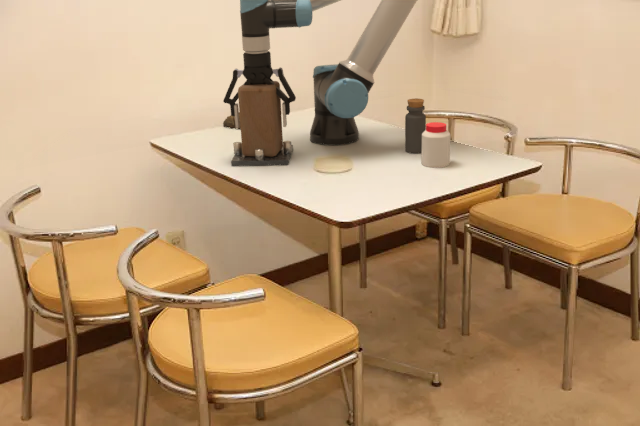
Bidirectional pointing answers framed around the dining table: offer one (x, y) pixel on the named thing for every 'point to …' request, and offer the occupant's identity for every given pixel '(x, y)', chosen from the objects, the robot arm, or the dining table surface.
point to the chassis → (262, 156)
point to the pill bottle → (435, 145)
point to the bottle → (414, 126)
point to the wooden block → (260, 119)
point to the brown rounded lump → (231, 122)
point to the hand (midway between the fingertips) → (261, 126)
